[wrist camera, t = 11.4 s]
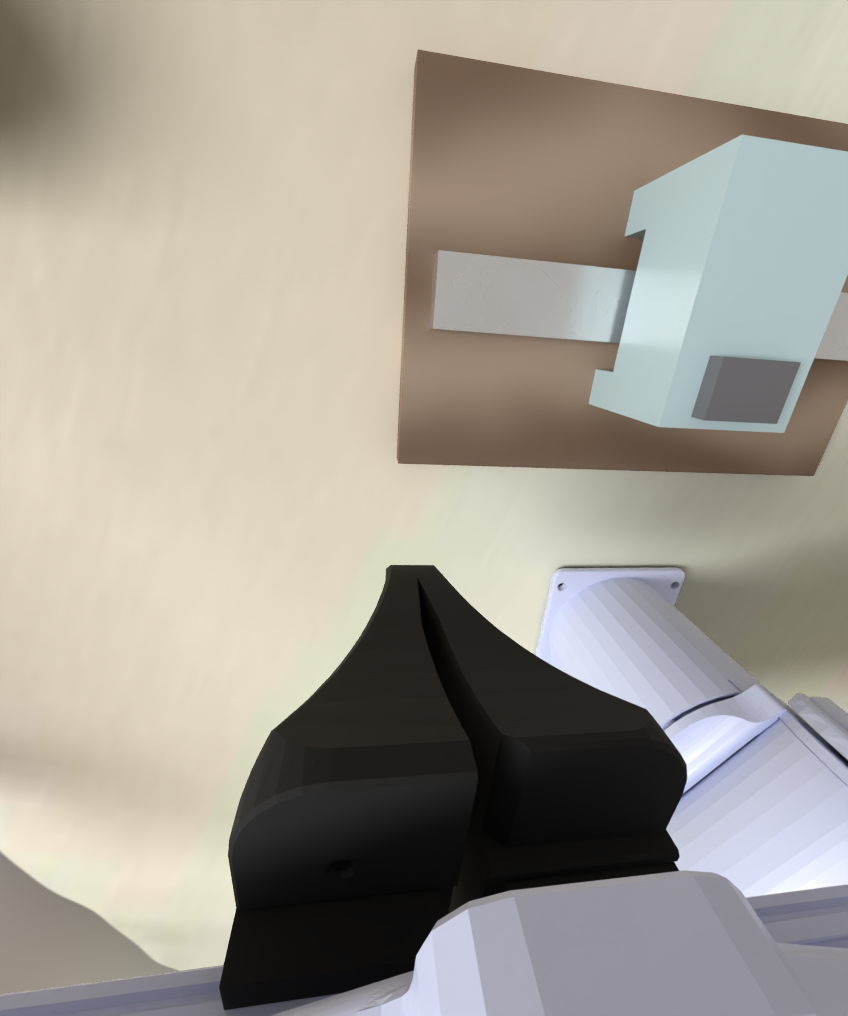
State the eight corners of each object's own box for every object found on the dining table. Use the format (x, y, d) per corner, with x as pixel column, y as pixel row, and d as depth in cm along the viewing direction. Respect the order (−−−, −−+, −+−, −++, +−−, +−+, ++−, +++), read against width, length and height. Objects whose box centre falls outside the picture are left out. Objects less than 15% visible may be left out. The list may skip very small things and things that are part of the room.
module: (687, 409, 20) (799, 436, 15) (588, 403, 19) (670, 430, 14) (749, 206, 17) (919, 150, 12) (634, 190, 16) (761, 124, 11)
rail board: (795, 470, 23) (832, 482, 21) (396, 457, 20) (400, 470, 18) (931, 153, 18) (996, 133, 16) (414, 67, 15) (421, 29, 13)
